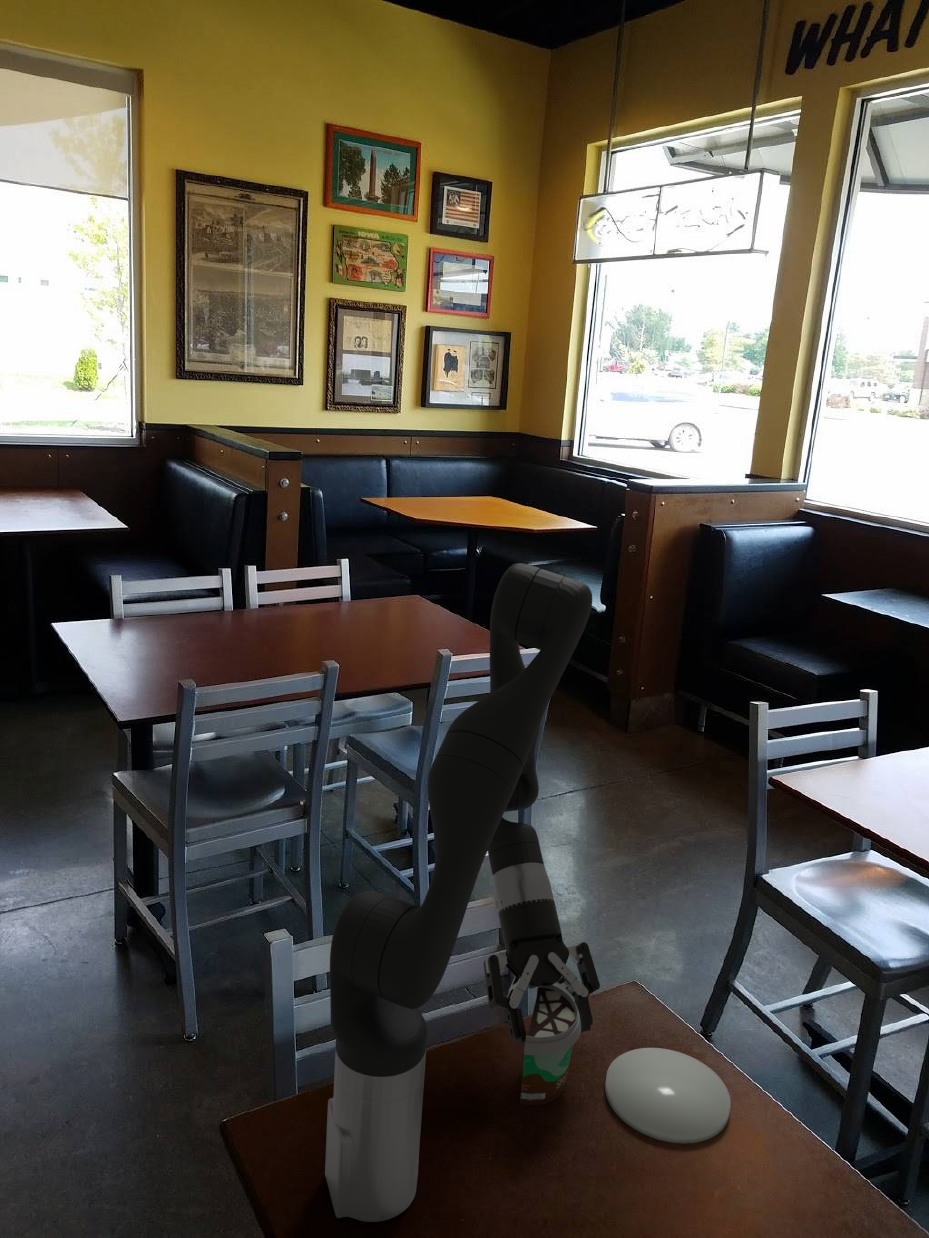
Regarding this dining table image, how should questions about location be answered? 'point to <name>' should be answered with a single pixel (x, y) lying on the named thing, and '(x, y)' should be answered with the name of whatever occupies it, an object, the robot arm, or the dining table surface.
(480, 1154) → the dining table surface
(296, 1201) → the dining table surface
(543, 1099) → the food container
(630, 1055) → the serving plate
